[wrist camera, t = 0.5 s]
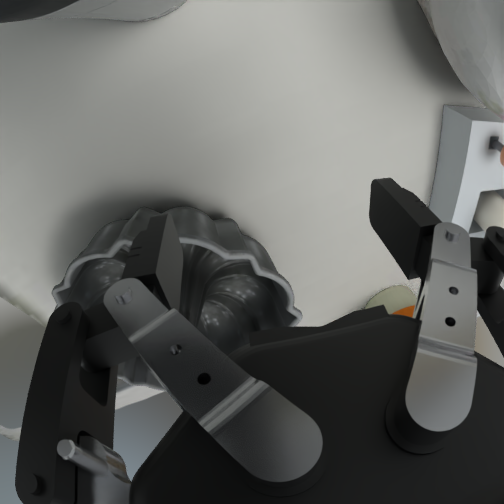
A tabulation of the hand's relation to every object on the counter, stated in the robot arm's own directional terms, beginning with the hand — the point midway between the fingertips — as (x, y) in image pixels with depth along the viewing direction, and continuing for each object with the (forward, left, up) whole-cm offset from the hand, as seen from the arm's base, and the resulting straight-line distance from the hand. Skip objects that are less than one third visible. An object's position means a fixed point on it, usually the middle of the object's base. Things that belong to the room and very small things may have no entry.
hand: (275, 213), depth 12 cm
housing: (+11, +29, -18) cm, 36 cm away
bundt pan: (+19, -11, -18) cm, 28 cm away
